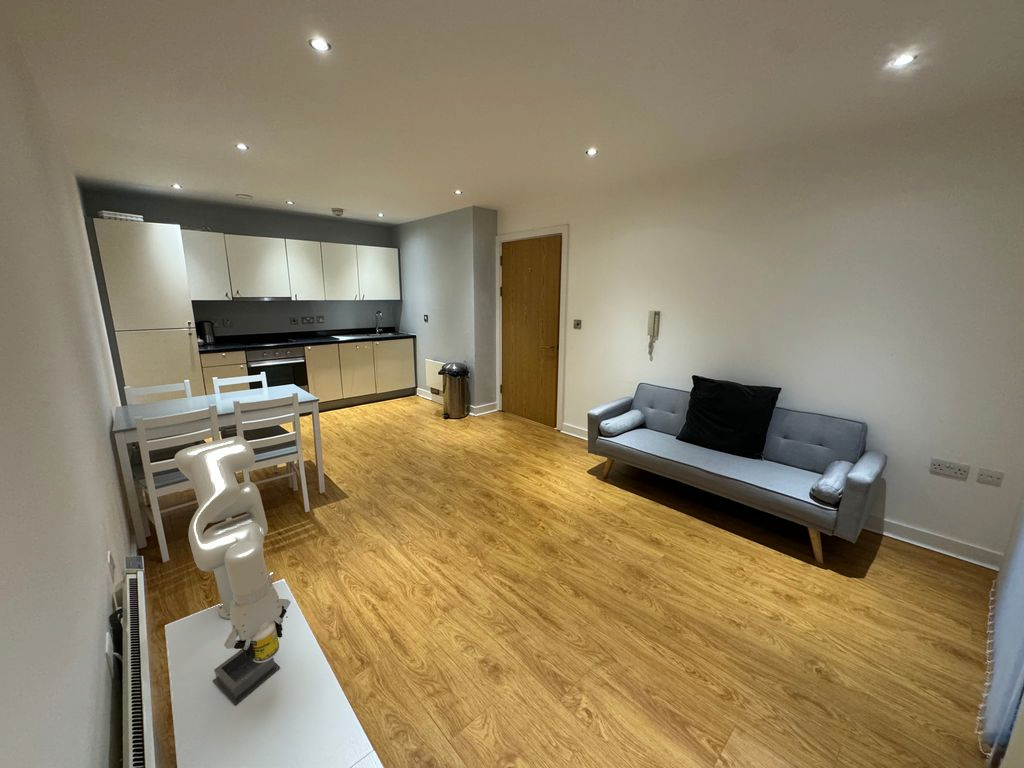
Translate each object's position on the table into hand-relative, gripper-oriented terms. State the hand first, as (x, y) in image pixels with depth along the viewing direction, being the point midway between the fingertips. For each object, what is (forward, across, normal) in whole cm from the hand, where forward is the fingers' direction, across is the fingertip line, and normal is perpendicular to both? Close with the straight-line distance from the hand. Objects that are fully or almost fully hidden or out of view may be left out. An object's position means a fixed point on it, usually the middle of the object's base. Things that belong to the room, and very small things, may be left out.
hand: (264, 644), depth 103 cm
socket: (+18, +1, -12) cm, 22 cm away
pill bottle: (+3, 0, 0) cm, 3 cm away
